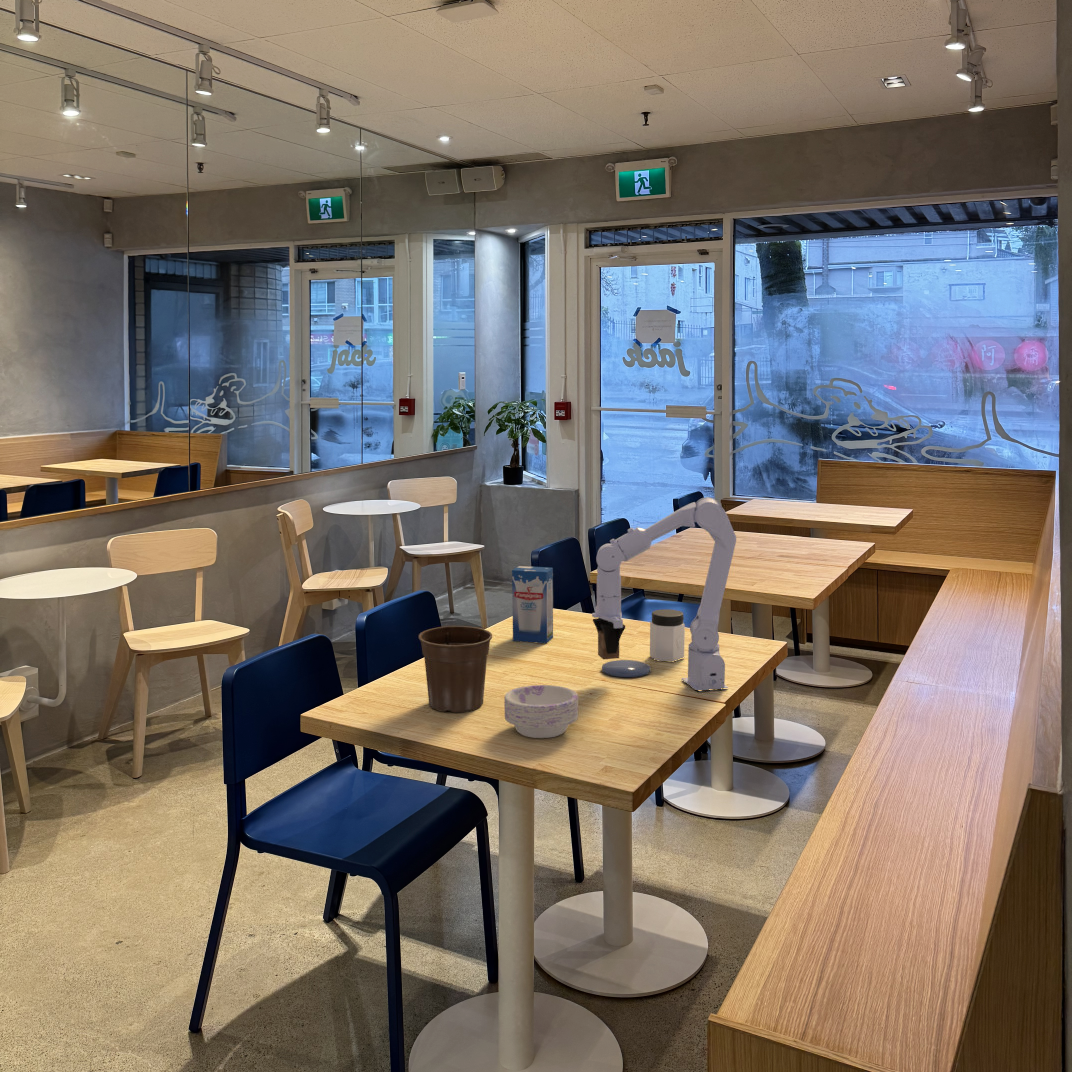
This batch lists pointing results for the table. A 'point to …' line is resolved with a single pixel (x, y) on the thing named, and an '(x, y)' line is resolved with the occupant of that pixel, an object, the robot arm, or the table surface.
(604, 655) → the walnut block
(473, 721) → the table surface
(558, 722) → the paper bowls
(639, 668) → the blue-grey round disc
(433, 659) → the plant pot
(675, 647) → the jar
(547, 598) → the milk carton
